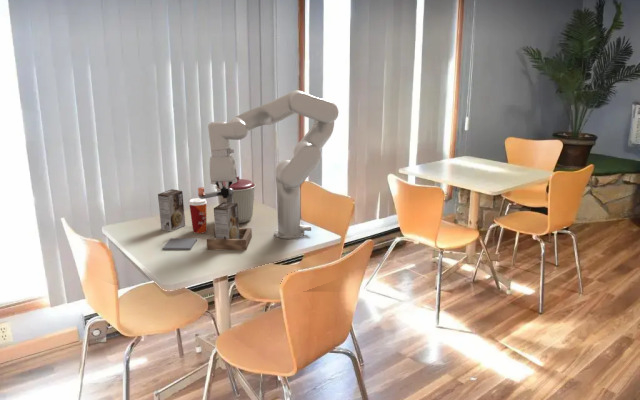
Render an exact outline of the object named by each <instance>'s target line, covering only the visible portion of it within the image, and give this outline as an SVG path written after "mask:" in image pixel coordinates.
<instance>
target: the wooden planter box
mask: <svg viewBox="0 0 640 400" xmlns="http://www.w3.org/2000/svg"><path fill="white" fill-rule="evenodd" d="M227 202H228V203H233V194H232V195H229V196H228V198H227ZM252 231H253V230H252V228H251V227H239V236H240V239H216V233H215V227H214V228H213V238H207V239H206V250H209V251H212V250H214V251H216V250H218V251H219V250H221V251H222V250H226V251H227V250H230V251H231V250H232V251H233V250H241V251H242V250H247V249H248V248H249V244H250V242H251V241H252V238H253V232H252Z"/></svg>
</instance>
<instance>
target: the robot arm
mask: <svg viewBox="0 0 640 400" xmlns="http://www.w3.org/2000/svg"><path fill="white" fill-rule="evenodd" d="M296 114H297V115H299V116H303V117H305V118H309V119H311V120H313V124H312V126H311V128H309V130H308V132H307V133H306V134H305V135H304V136H303V137H302V139H300V141H299V142H298V143H297V144H296V145H295V147H294V149H293V157H292V159H291V160H290V159H283V160H281V161H280V162H279V163H278V164H277V166H276V167H275V171H274V172H275V174H274V175H275V184H276V202H277V203H276V204H277V207H276V208H277V209H276V210H277V228H276V229H275V230H274V233H273V234H274V236H275V237H277V238H280V239H285V240H286V239H288V240H291V239H298V238H301V237H303V236H304V235H305V231H306V232H311V231H312V226H309V224H306V225H305V224H302V221H301V189H300V188H301V187H300V186H301V185H302V184H303V183H304V182H305V181H306V180H307V178H308V177H309V176H310V175H311V174H312V172H313V171H315V169H316V168H317V167H318V165H319V163H320V161H321V158H322V154H321V150H322V149H323V147H324V146H325V145H326V143H327V142H328V141H329V139H330V138H331V136H332V135H333V131H334V127H335V121H336V120H337V119H338V116H339V108H338V106H337V105H336V104H335V103H334V102H332V101H330V100H328V99H325V98H319V97H318V96H317V97H316V96H314V95H312V94H309V93H306V92H304V91H302V90H297V89H296V90H293V91H290V92H288V93H286V94H283V95H282V96H280V97H278V98H274V99H273V100H271V101H269V102H267V103H265V104H262V105H260V106H258V107H255V108H251V109H250V110H249V109H248V110H247V111H245V112H243V113H240V114H239V115H236V116H234V117H233V118H231V119H230V120H229V121H228V122H226V121H223V120H221V121H220V120H217V121H212V122H210V123H208V126H207V129H208V138H209V146H210V155H211V156H210V157H209V177H210V184H211V185H214V186H216V185H217V186H218V187H219V188H220V189H221V195H222V196H223V199H224V198H228V196H229V186H230V185H231V184H234V183H237V178H236V177H237V176H238V174H237V169H236V168H237V167H236V163H235V159H234V158H235V157H234V155H233V154H234V153H235V149H233V148H232V149H231V146H230V145H231V144H230V141H231V140H232V141H234V140H235V141H237V140H238V141H239V140H243V139H246V137H247V136H248V134H249V131H252V130H254V129H255V128H258V127H262V126H268V125H269V126H270V125H275V124H277V123H280V122H281V121H283V120H286V119H287V118H289V117H292V116H294V115H296ZM223 181H226V183H225V187H224V185H223Z"/></svg>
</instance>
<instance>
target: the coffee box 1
mask: <svg viewBox="0 0 640 400" xmlns="http://www.w3.org/2000/svg"><path fill="white" fill-rule="evenodd" d="M157 198H158V199H157V200H158V209H159V220H160V229H161V230H163V231H168V232H173V231H176V230H178V229H181V228H182V227H185V226H186V219H185V218H186V217H185V216H186V215H185V206H184V197H183V190H179V189H168V190H166V191H163V192H161V193H157Z"/></svg>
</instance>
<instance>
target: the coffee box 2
mask: <svg viewBox="0 0 640 400" xmlns="http://www.w3.org/2000/svg"><path fill="white" fill-rule="evenodd" d="M213 217H214V219H213V220H214V228H215V233H216V238H215V239H241V238H240V236H239V228H240V223H239V220H238V203H228V202H223V203H222V204H220V205H219V204H218V205H217V206H215V207H213Z"/></svg>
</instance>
